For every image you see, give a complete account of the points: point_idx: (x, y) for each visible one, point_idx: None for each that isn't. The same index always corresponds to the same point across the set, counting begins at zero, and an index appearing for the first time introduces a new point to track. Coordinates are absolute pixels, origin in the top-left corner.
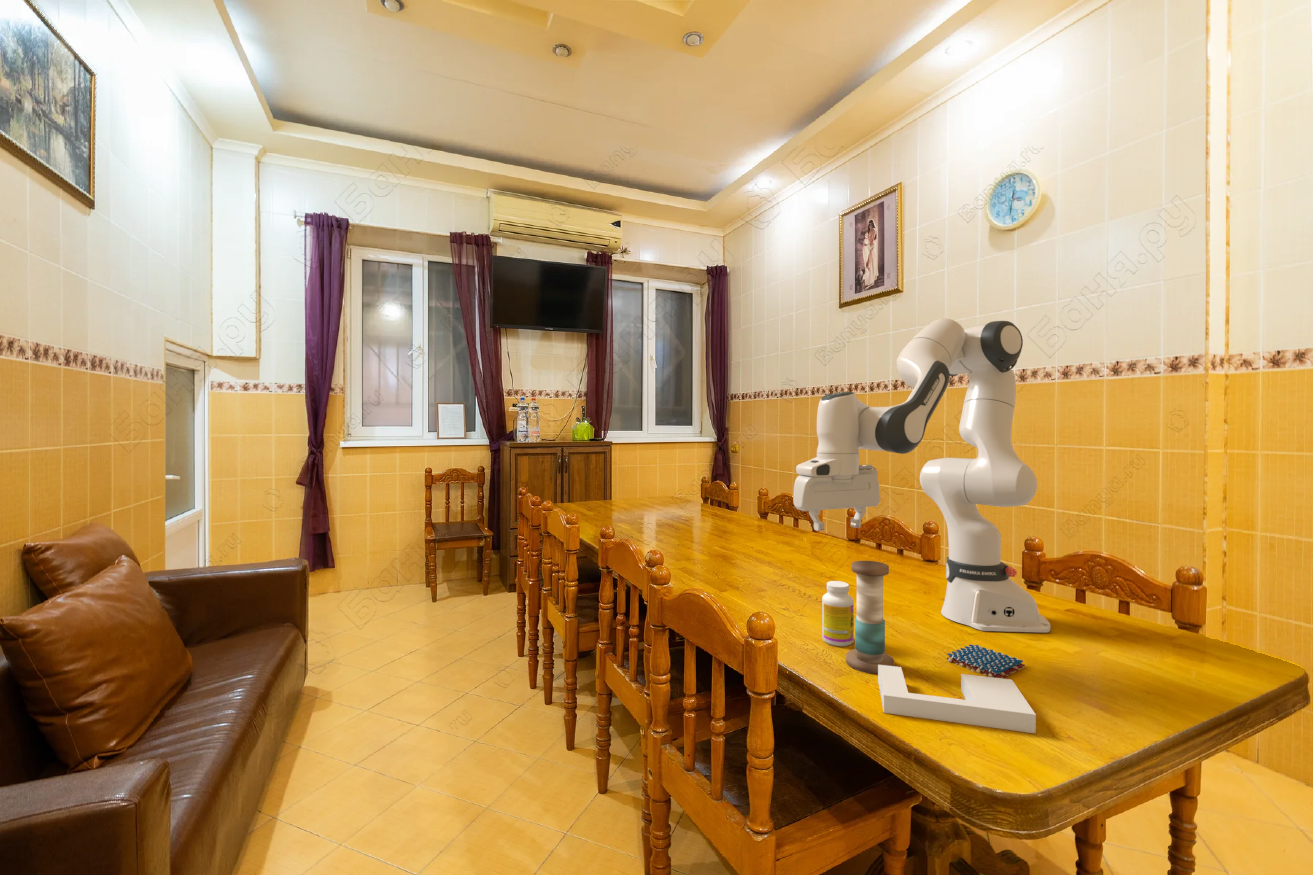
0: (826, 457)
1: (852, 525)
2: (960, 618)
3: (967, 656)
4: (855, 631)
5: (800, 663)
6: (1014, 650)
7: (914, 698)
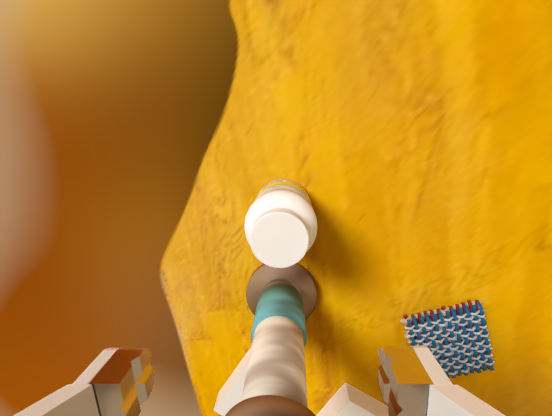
0: None
1: (382, 365)
2: None
3: (430, 334)
4: (255, 313)
5: (180, 260)
6: (538, 318)
7: None
